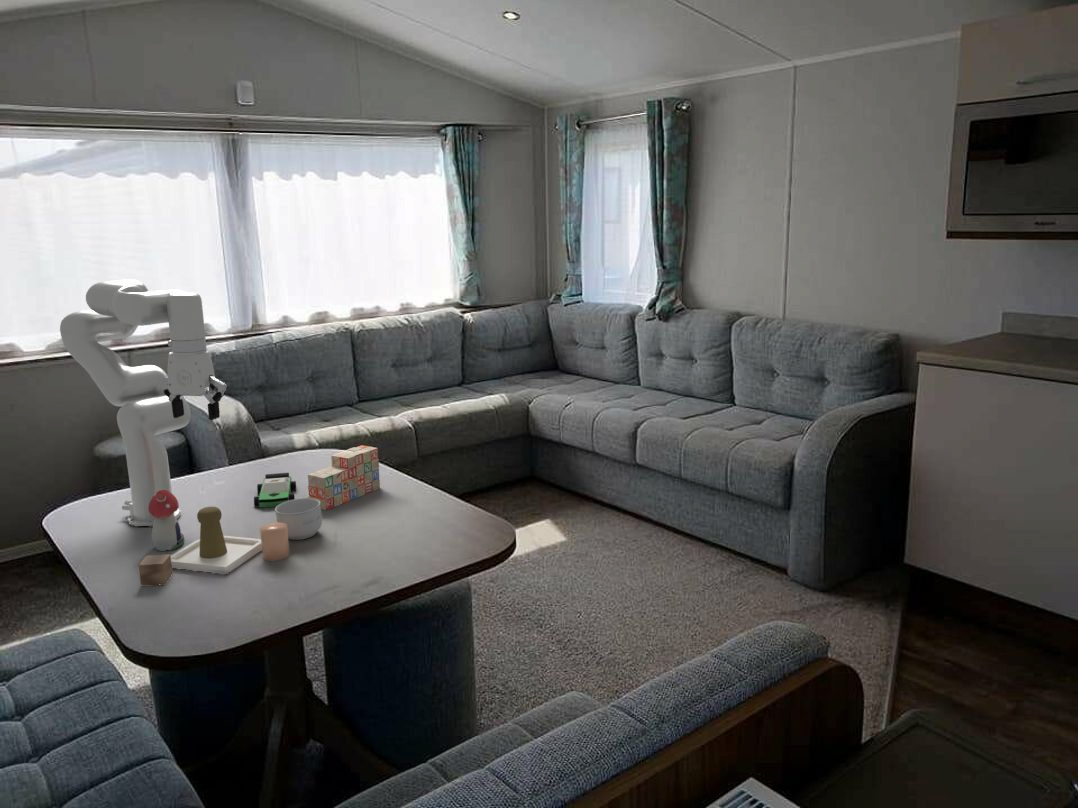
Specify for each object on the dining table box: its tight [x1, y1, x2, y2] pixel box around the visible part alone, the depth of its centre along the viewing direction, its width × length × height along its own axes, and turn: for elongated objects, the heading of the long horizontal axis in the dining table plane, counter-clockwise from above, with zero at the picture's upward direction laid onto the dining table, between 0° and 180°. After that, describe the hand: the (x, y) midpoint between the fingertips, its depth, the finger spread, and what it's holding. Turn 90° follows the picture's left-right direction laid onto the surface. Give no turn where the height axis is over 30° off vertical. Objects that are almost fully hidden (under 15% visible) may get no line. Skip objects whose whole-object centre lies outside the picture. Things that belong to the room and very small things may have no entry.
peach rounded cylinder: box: [259, 521, 290, 562], centre depth 194 cm, size 6×6×7 cm
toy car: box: [253, 472, 297, 508], centre depth 234 cm, size 10×19×5 cm, turn 14°
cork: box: [196, 506, 227, 559], centre depth 193 cm, size 6×6×11 cm
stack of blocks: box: [307, 444, 381, 511], centre depth 232 cm, size 21×6×12 cm, turn 149°
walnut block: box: [138, 554, 174, 586], centre depth 182 cm, size 5×5×5 cm
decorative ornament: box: [148, 490, 185, 552], centre depth 199 cm, size 9×7×15 cm
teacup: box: [274, 495, 323, 541], centre depth 207 cm, size 14×11×8 cm
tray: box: [170, 535, 262, 575], centre depth 194 cm, size 16×16×2 cm
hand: (196, 417), depth 199 cm, fingers open, 9 cm apart
